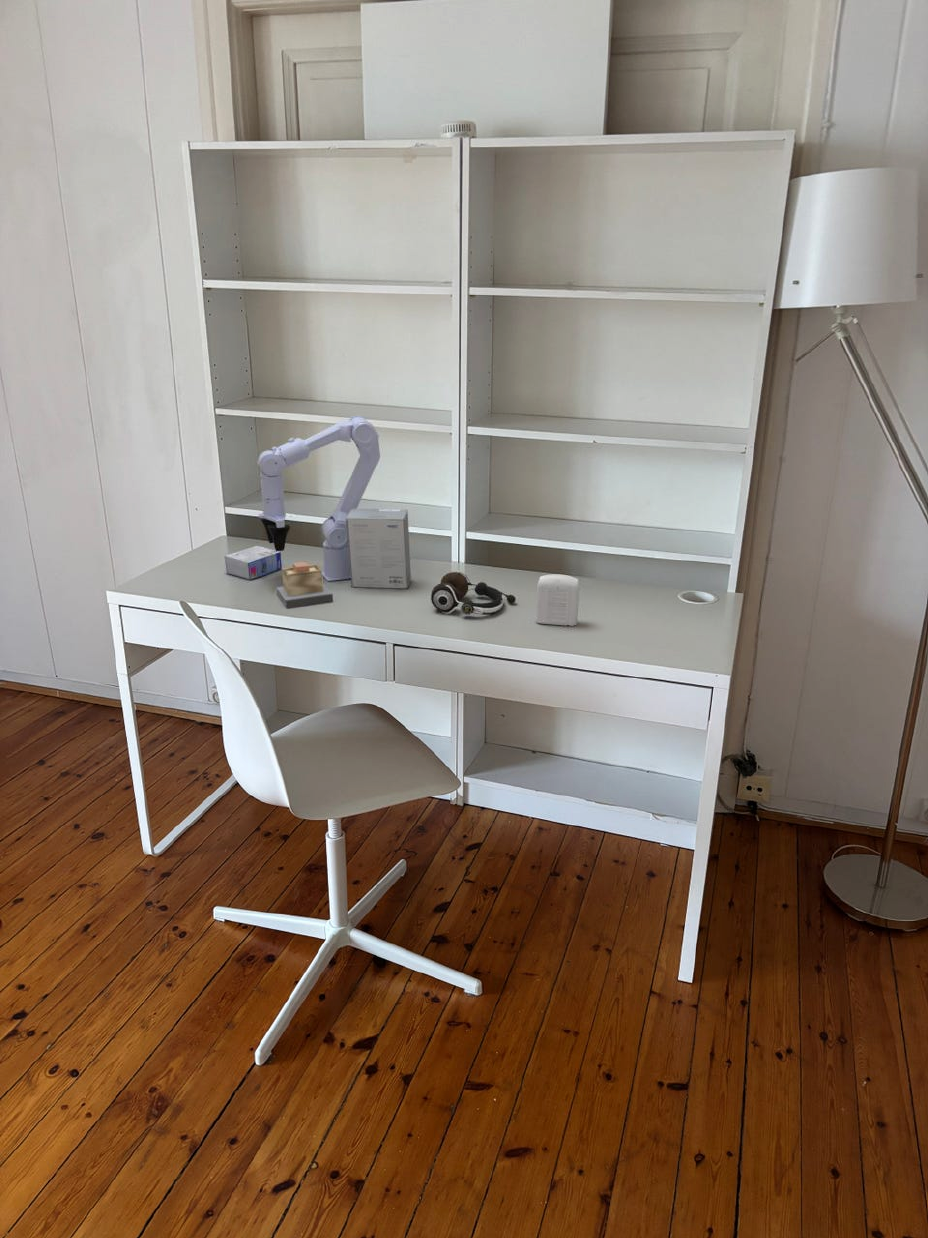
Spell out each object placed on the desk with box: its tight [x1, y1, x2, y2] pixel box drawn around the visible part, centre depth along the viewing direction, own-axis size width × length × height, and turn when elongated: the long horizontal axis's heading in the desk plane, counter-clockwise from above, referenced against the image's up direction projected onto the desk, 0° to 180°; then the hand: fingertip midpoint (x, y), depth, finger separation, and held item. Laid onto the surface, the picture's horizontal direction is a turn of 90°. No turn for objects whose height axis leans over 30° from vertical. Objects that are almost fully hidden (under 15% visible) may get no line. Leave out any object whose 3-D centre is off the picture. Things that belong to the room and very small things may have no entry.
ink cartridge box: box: [224, 545, 283, 581], centre depth 253 cm, size 10×6×14 cm
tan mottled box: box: [281, 563, 323, 596], centre depth 233 cm, size 9×5×6 cm, turn 114°
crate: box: [292, 561, 310, 573], centre depth 231 cm, size 3×3×2 cm
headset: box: [430, 570, 517, 616], centre depth 228 cm, size 17×8×20 cm
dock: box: [276, 582, 334, 609], centre depth 234 cm, size 12×11×2 cm
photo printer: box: [534, 573, 581, 627], centre depth 218 cm, size 10×4×12 cm, turn 81°
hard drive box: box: [346, 508, 412, 589], centre depth 240 cm, size 16×8×20 cm, turn 85°
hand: (276, 546), depth 242 cm, fingers open, 7 cm apart
